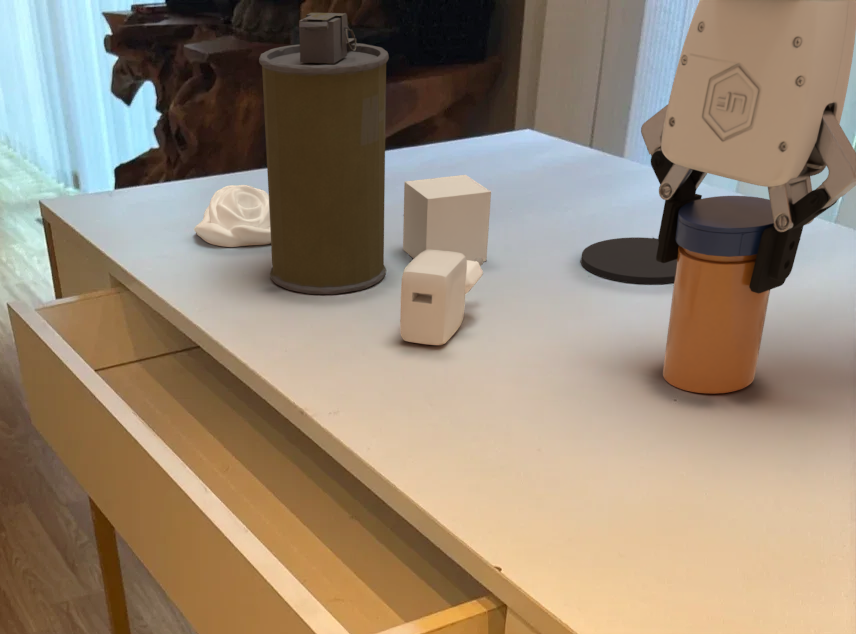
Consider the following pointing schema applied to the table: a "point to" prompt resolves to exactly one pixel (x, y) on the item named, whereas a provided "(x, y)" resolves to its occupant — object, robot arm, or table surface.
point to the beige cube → (446, 216)
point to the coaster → (628, 261)
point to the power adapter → (436, 295)
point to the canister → (326, 158)
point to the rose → (236, 217)
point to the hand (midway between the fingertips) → (718, 271)
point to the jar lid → (723, 225)
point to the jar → (713, 324)
